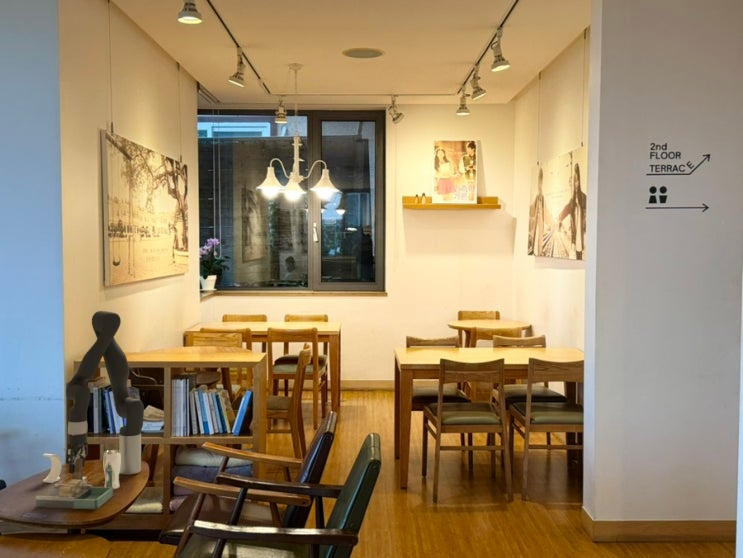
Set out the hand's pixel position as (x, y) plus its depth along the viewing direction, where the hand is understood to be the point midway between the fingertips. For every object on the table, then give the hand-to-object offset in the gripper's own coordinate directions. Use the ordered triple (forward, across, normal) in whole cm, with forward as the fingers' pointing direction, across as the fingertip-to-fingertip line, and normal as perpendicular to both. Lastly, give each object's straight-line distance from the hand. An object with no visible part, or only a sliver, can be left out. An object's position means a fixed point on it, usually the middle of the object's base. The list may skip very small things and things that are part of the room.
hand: (76, 470), depth 288 cm
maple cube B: (+5, +18, +5) cm, 19 cm away
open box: (+8, +15, +3) cm, 17 cm away
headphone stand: (+8, -8, -15) cm, 19 cm away
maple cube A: (+5, +12, +5) cm, 14 cm away
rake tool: (+8, 0, 0) cm, 8 cm away
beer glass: (+8, -2, +14) cm, 16 cm away
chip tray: (+8, +15, +15) cm, 22 cm away
